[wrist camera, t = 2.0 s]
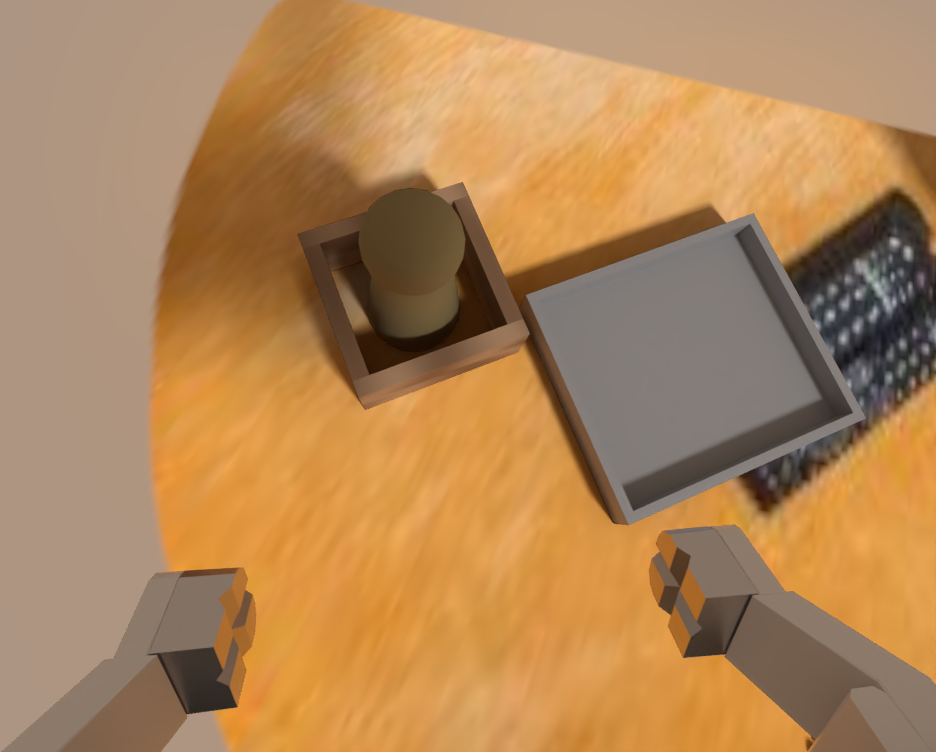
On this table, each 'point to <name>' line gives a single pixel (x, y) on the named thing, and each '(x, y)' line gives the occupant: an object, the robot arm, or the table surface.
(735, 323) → the tray
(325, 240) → the holder
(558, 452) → the table surface
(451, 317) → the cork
